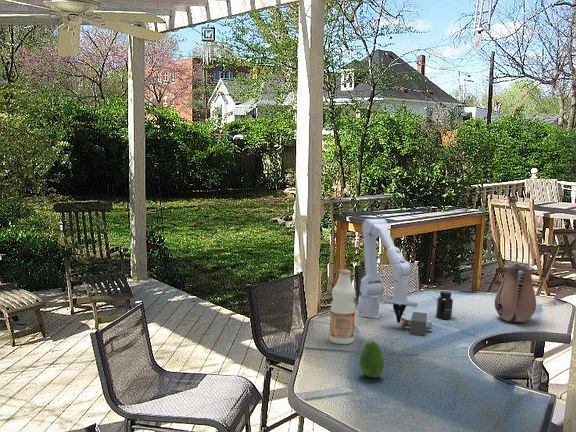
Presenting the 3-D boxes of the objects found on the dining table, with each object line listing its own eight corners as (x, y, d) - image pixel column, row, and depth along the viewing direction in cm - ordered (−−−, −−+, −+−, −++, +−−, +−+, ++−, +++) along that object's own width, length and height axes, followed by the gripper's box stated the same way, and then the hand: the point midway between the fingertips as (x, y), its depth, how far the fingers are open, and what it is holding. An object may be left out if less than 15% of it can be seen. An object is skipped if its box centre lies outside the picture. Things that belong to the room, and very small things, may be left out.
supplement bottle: (448, 320, 266) (449, 294, 265) (433, 317, 270) (435, 291, 269) (453, 317, 272) (455, 292, 270) (439, 314, 276) (441, 289, 274)
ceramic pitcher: (527, 316, 279) (532, 263, 276) (542, 329, 258) (547, 273, 255) (489, 313, 281) (493, 261, 278) (500, 327, 260) (505, 270, 257)
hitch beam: (409, 334, 245) (410, 320, 244) (412, 324, 258) (413, 311, 257) (424, 336, 243) (425, 322, 242) (426, 326, 256) (427, 313, 256)
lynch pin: (400, 328, 250) (401, 319, 250) (401, 325, 254) (402, 316, 254) (431, 332, 247) (431, 322, 247) (431, 329, 251) (432, 320, 251)
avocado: (367, 370, 203) (368, 336, 201) (387, 377, 198) (389, 342, 196) (354, 377, 197) (356, 342, 195) (374, 383, 192) (376, 347, 190)
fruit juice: (324, 339, 234) (327, 269, 231) (343, 335, 239) (346, 267, 236) (339, 346, 227) (343, 273, 223) (358, 342, 232) (362, 271, 228)
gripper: (382, 290, 249) (380, 322, 250) (417, 294, 245) (415, 326, 247) (384, 287, 256) (382, 317, 257) (418, 290, 252) (416, 321, 253)
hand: (398, 321), depth 252 cm, fingers closed
